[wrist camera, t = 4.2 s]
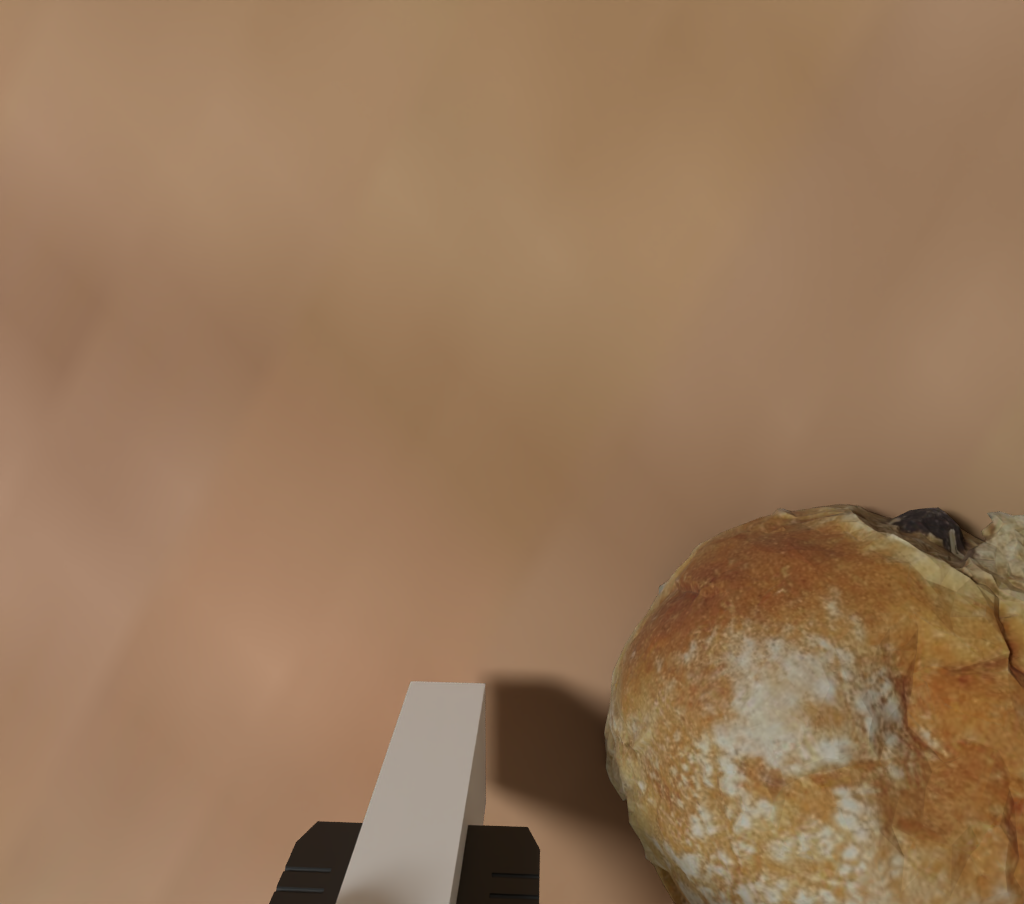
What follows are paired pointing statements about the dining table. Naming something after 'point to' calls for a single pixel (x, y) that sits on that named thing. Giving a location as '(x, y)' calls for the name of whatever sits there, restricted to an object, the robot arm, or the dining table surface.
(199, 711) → the dining table surface
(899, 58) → the dining table surface
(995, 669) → the bread roll
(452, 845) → the robot arm
